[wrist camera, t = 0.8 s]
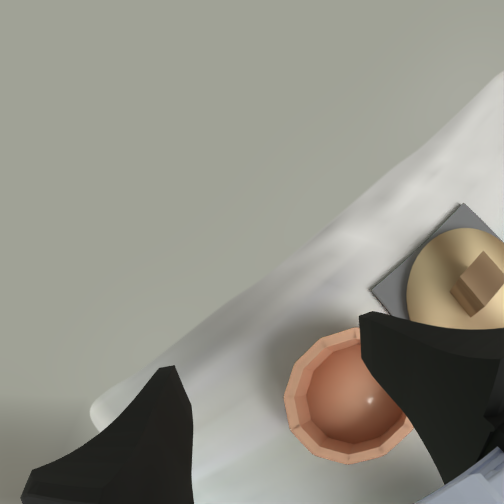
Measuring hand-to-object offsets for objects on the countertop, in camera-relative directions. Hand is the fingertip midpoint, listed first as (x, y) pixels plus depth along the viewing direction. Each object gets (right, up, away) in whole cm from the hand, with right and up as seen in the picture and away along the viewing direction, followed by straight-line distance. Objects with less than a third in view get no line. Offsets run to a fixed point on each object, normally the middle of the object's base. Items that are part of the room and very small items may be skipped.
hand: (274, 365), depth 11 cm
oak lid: (+18, 0, +10) cm, 20 cm away
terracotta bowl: (+8, -8, +12) cm, 16 cm away
